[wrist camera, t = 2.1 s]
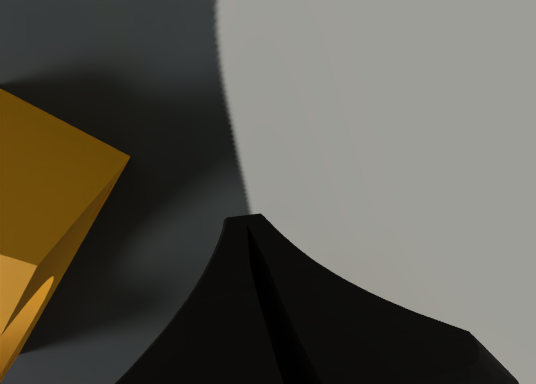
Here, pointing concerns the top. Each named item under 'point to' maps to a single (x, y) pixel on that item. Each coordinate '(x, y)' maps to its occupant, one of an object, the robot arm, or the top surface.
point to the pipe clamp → (43, 210)
